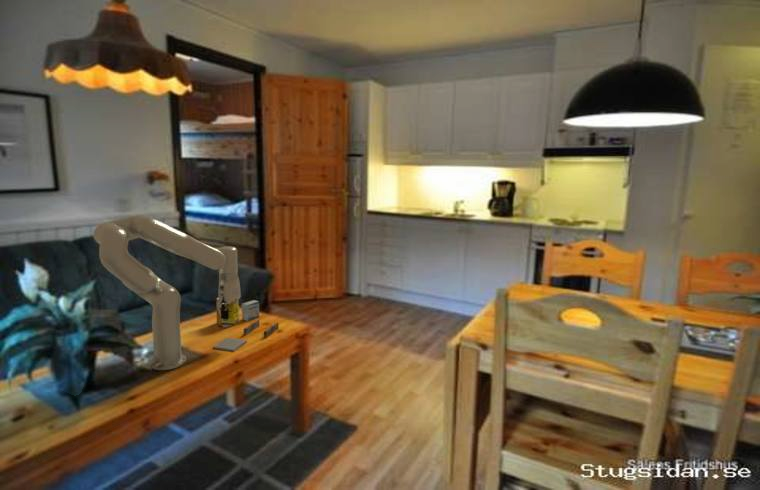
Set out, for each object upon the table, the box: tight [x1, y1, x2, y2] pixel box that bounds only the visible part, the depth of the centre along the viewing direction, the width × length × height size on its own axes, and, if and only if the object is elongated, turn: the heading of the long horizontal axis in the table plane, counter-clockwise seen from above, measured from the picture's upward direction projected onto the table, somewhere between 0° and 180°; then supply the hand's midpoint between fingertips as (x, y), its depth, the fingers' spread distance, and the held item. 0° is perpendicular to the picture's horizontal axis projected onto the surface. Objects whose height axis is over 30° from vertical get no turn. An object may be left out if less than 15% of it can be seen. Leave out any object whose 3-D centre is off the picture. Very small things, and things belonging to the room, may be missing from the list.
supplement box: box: [220, 299, 240, 326], centre depth 178 cm, size 6×6×11 cm
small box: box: [215, 297, 234, 329], centre depth 203 cm, size 8×6×13 cm
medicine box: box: [241, 299, 260, 322], centre depth 213 cm, size 8×4×9 cm, turn 150°
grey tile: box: [212, 337, 248, 352], centre depth 181 cm, size 10×10×1 cm
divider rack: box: [243, 319, 279, 339], centre depth 197 cm, size 12×11×3 cm
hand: (229, 315), depth 178 cm, fingers closed on supplement box, 6 cm apart
